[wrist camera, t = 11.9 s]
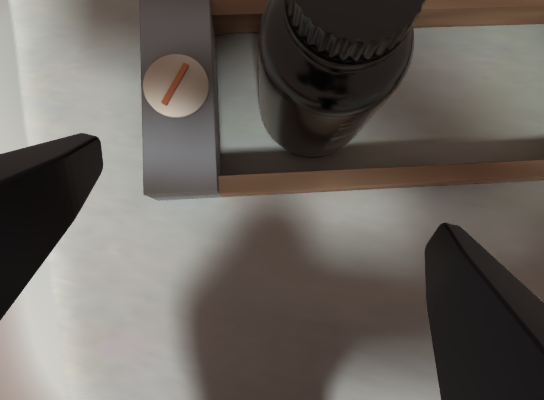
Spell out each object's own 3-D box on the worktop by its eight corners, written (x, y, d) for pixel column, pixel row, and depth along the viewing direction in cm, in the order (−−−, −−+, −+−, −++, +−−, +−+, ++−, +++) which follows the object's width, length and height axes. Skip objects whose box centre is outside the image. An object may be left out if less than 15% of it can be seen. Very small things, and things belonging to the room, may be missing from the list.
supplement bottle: (359, 59, 24) (458, -113, 12) (362, 159, 24) (471, 77, 12) (257, 58, 24) (259, -122, 12) (257, 158, 23) (259, 73, 11)
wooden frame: (625, 175, 24) (689, 164, 21) (158, 200, 23) (140, 193, 19) (597, 8, 25) (653, -29, 22) (153, 21, 24) (136, -18, 20)
